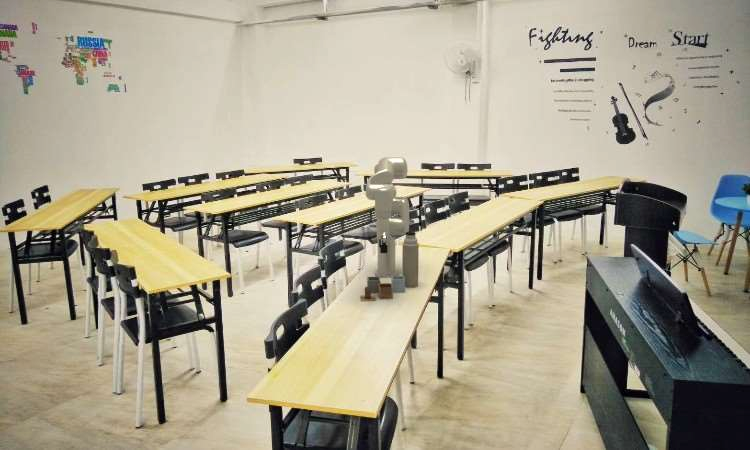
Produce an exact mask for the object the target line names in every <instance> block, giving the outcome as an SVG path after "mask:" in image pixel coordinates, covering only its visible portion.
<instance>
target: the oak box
mask: <svg viewBox="0 0 750 450" xmlns="http://www.w3.org/2000/svg"><path fill="white" fill-rule="evenodd" d="M377 295H378V299H379V300H393V298H394V293H393V286H392V283H390V282H388V283H387V282H386V283H385V282H384V283H381V282H380V284H378V293H377Z"/></svg>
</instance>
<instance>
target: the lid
mask: <svg viewBox="0 0 750 450" xmlns="http://www.w3.org/2000/svg"><path fill="white" fill-rule="evenodd" d="M359 297H360V302H376V301H377V299H376V295H375V294H372V293H371V287H367V286H365V287H364V295H361V294H360V295H359Z"/></svg>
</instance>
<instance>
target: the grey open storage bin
mask: <svg viewBox="0 0 750 450" xmlns="http://www.w3.org/2000/svg"><path fill="white" fill-rule="evenodd" d="M378 284H381V277H379V276H376V275H374V276H367V277H366V287H371V294H378Z"/></svg>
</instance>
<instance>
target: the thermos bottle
mask: <svg viewBox="0 0 750 450" xmlns="http://www.w3.org/2000/svg"><path fill="white" fill-rule="evenodd" d="M419 252H420V251H419V243H418V238H417V237H416V231H409V232H406V235H405V237H404V238H403V242H402V259H401V261H402V263H401V264H402V274H401V276H404V278H405V288H407V289H411V288H413V289H414V288H417V287H418V286H419Z"/></svg>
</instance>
